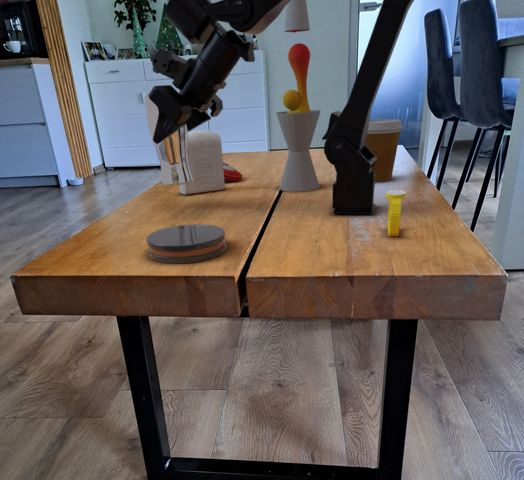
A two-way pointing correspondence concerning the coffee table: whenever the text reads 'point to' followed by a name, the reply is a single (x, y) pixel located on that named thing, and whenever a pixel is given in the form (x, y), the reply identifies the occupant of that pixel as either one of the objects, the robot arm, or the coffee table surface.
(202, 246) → the coaster stack
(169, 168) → the beer glass
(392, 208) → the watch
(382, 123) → the disposable coffee cup
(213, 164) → the photo printer
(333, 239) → the coffee table surface
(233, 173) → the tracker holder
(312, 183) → the lava lamp
